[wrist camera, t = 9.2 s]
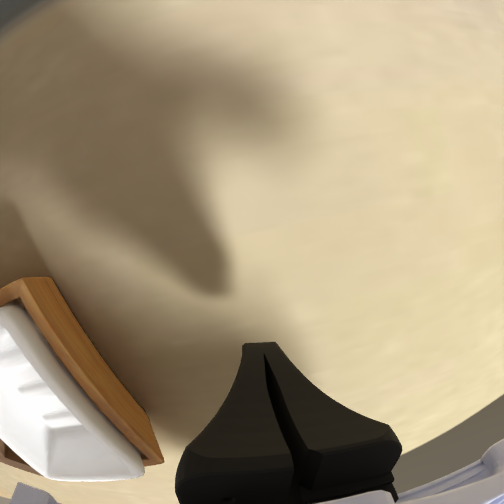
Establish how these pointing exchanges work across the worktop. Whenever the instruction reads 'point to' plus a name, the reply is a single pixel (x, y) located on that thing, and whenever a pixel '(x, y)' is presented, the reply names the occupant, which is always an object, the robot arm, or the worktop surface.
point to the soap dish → (64, 393)
